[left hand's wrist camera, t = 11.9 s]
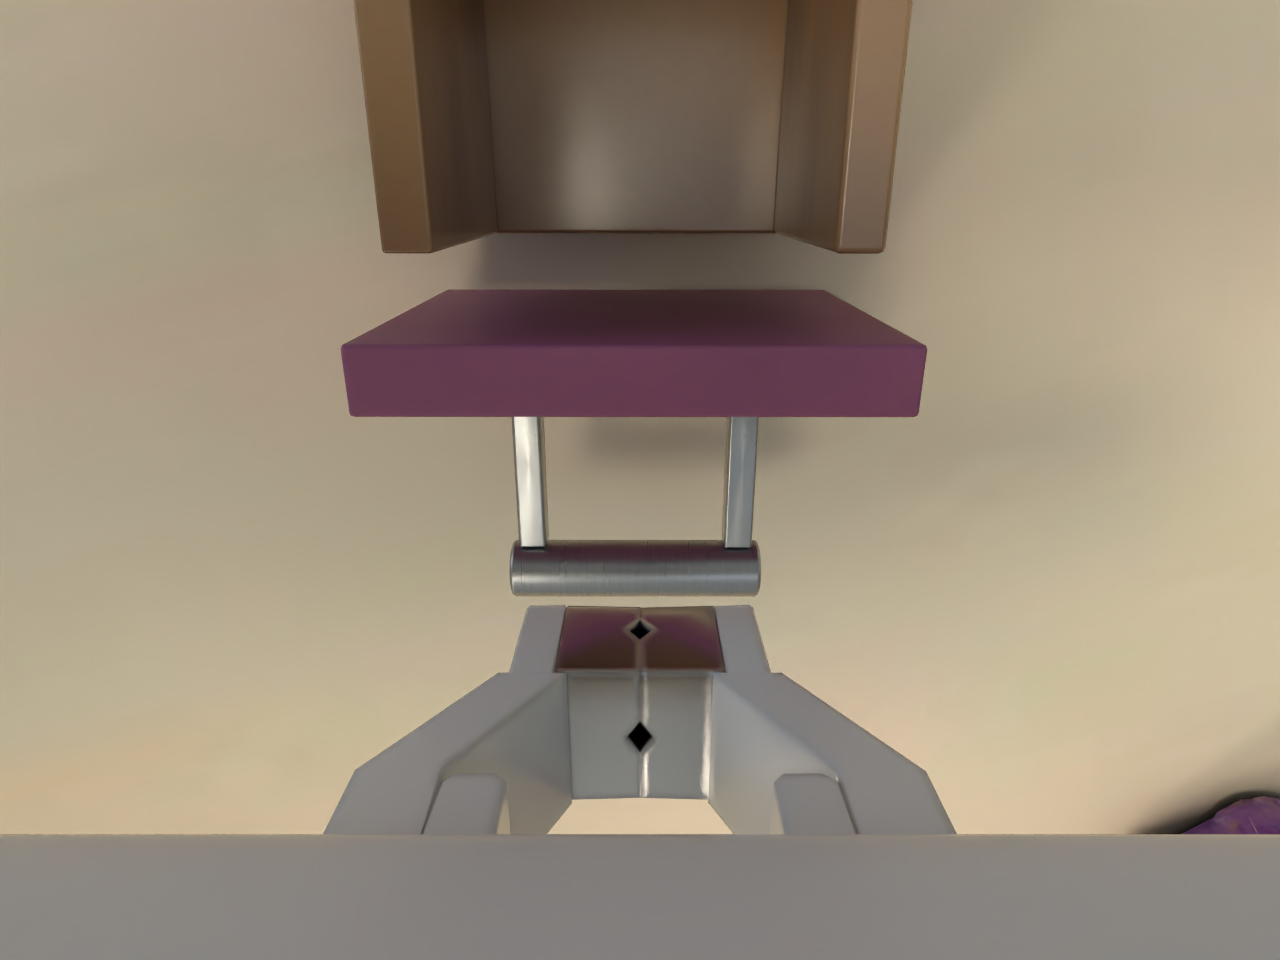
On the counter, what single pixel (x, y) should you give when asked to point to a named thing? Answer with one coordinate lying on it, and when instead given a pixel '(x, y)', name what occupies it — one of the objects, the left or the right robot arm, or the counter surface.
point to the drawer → (633, 203)
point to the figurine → (1244, 818)
